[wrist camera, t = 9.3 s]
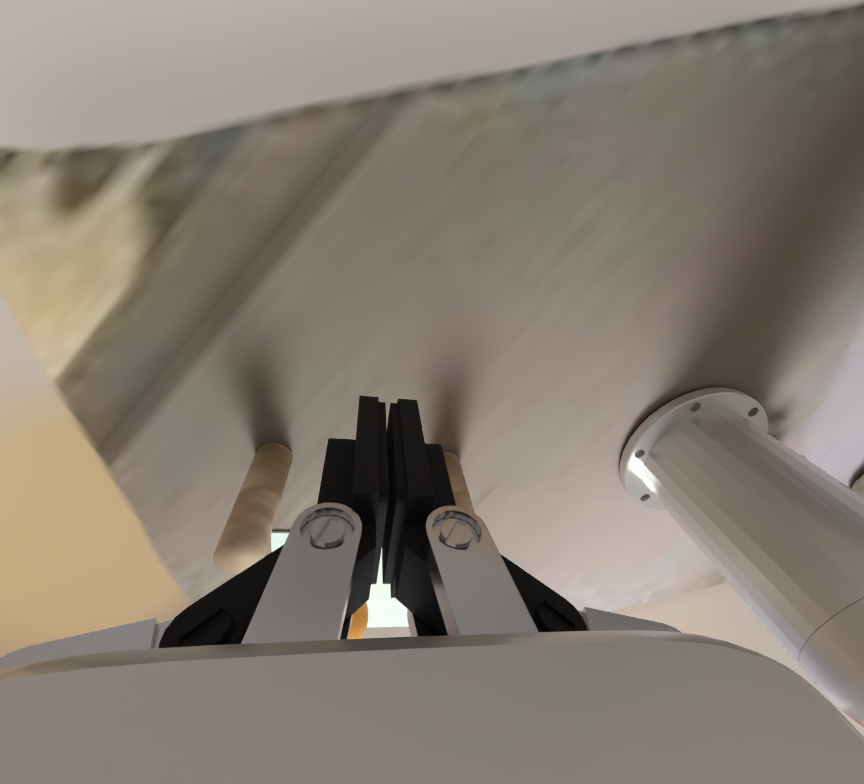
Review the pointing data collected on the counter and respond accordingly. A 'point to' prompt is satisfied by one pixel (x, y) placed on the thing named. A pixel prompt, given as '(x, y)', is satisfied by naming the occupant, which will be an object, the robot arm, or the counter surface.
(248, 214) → the counter surface
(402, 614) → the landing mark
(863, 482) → the sea urchin shell
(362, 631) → the ball
